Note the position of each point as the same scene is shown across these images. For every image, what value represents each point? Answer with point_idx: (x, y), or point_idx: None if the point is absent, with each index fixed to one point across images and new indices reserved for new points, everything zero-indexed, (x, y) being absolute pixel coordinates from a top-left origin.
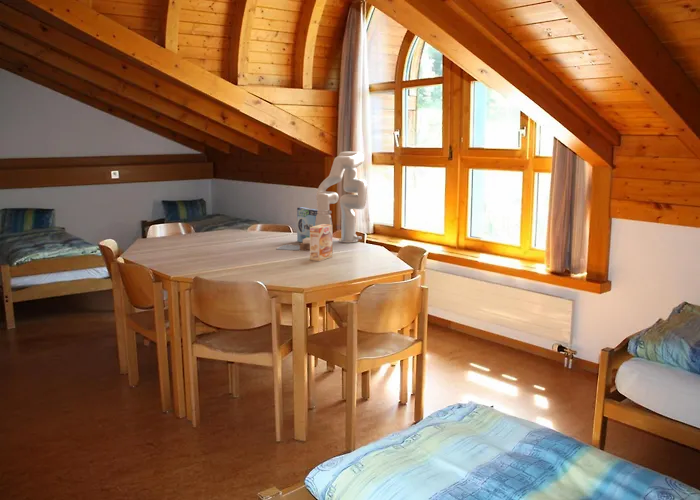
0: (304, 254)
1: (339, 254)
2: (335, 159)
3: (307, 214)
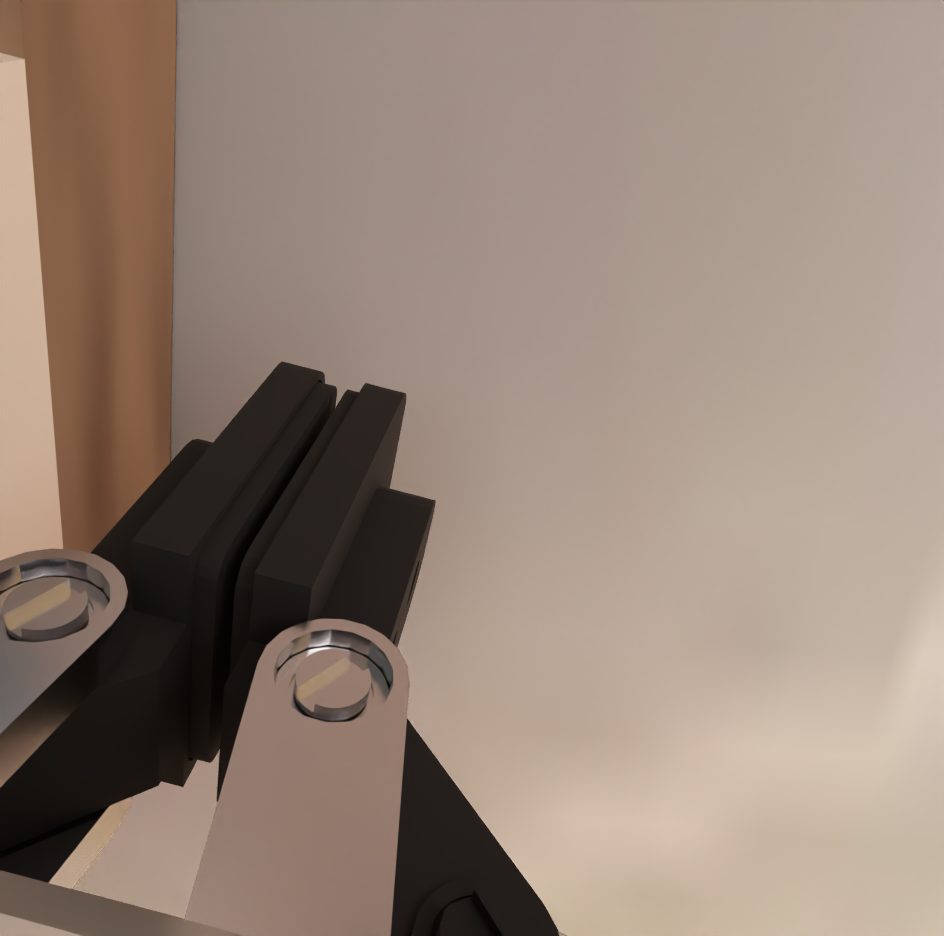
0: (114, 837)
1: (815, 914)
2: None
3: None
